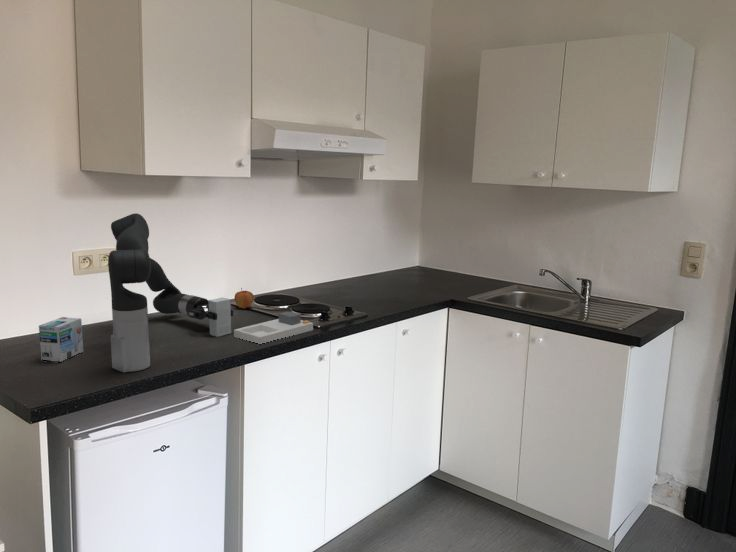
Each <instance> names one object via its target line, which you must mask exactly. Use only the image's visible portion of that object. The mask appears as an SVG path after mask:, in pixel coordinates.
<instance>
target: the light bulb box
mask: <svg viewBox="0 0 736 552" xmlns="http://www.w3.org/2000/svg"><path fill="white" fill-rule="evenodd" d="M82 324H83V323H82V318H79V317H78V318H77V317H67V316H61V317H58V318H56V319H54V320H51V321H48V322H45V323H43V324H39V325H38V332H39V334H38V335H39V344H40V356H41V358H40V359H41V360H42V359H43V360H51V361H60V362H61V361H63V360H65V359H67V358H69V357H72V356H74V355H76V354H78V353H81V352H83V353H84V343H83V340H84V339H83V325H82Z"/></svg>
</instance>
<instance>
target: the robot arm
mask: <svg viewBox="0 0 736 552" xmlns="http://www.w3.org/2000/svg"><path fill="white" fill-rule="evenodd" d="M110 229H111V233H112V235H113V237H114V239H115V241H116V244H115V250H114V249H113V250H112V251H110V252H109V254H108V258H107V266H108V275H109V276H108V277H109V282H110V283H109V285H110V295H111V313H112V314H111V315H112V331H113V332H112V334H111V335H110V353H111V367H112V369H114V370H116V371H118V372H121V373H127V372H128V373H129V372H138V371H142V370H145V369H147V368H149V367H150V366H151V354H150V353H151V352H150V333H149V311H148V299H147V297H146V296H145V295H144V294H141V293H137V292H135V291H132V290H129V289H127V288H126V287H125V286H124V285H126V284H127V285H128V284H141V283H142V284H143V283H146V285H147V287H148V288H149V290H150V291H152V292H154V293H157V292H160V293H158V294H157V295H156V296H155V297H154V298H153V299H152V306H153V309H155V310H156V311H158V312H159V313H161V314H165V315H169V314H170V315H171V314H181V315H184V316H186V317H189V318H191V319H196V320H200V321H201V320H204V319H206V320H209V319H212V320H217V313H213V312H209V302H208V301H209V299H207V298H204V297H201V296H197V295H192V294H190V295H189V294H186V293H182V292H181V290H180V289H179V288H177V287H176V285H174V284H173V282H172V281H171V280H170V279H168V276H167V274H166V272H165V271H164V270H163V267H162V266H161V265H160V263H159V262H157V261H156V260H154V259H153V258H151V257H150V254H149V247H150V246H149V237H150V228H149V225H148V223H147V221H146V219H145V217H144V216H143V215H141V214H139V213H131V214H128V215H126V216H124V217H121V218H118V219H115V220H114V221H112V222H111V224H110ZM231 317H234V309H231Z"/></svg>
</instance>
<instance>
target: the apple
mask: <svg viewBox="0 0 736 552" xmlns="http://www.w3.org/2000/svg"><path fill="white" fill-rule="evenodd" d="M234 301H235V305H236V307H238V308H240V309H243V310H245V309H247V307H248V308H249V307H251V306H252V304H253V302H254V294H253V292H251V291H248V290H243V288H242V287H241V291H237V292H235V295H234Z"/></svg>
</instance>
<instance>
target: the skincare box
mask: <svg viewBox="0 0 736 552" xmlns="http://www.w3.org/2000/svg"><path fill="white" fill-rule="evenodd" d="M208 302H209V312H213V313H217V320H212V319H208V321H209V322H208V323H209V335H210V336H213V337H217V338H218V337H222V336H225V335H229V334H232V316H231V310H232V308H231V299H230V298H227V297H223V296H222V297H218V298H214V299H208Z"/></svg>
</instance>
